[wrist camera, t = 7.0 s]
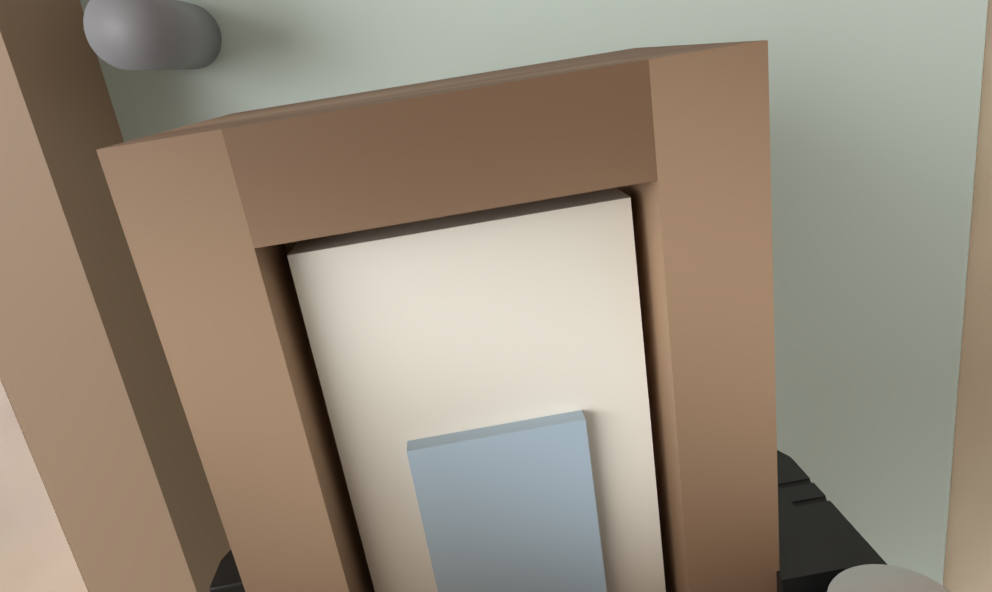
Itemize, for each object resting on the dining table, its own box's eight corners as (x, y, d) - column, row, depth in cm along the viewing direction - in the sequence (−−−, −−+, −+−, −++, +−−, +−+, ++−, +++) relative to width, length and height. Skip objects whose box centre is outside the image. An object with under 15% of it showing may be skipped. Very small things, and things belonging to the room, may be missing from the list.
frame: (691, 740, 14) (788, 996, 10) (415, 793, 14) (408, 1075, 10) (635, 47, 10) (767, 39, 6) (232, 113, 9) (95, 149, 6)
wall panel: (913, 651, 22) (1015, 776, 18) (265, 773, 21) (228, 930, 17) (972, -287, 14) (1176, -420, 10) (-55, -146, 13) (-252, -231, 9)
